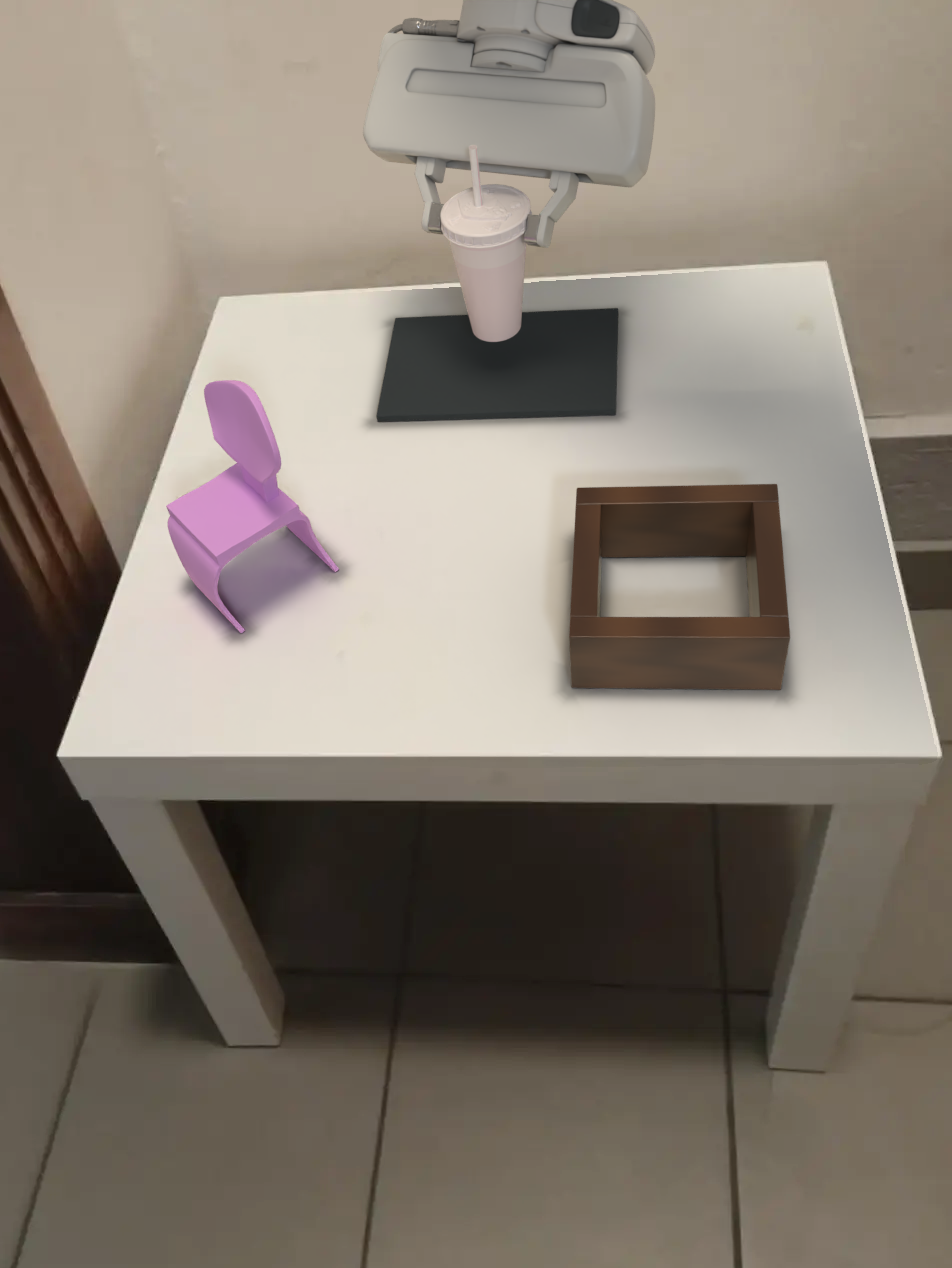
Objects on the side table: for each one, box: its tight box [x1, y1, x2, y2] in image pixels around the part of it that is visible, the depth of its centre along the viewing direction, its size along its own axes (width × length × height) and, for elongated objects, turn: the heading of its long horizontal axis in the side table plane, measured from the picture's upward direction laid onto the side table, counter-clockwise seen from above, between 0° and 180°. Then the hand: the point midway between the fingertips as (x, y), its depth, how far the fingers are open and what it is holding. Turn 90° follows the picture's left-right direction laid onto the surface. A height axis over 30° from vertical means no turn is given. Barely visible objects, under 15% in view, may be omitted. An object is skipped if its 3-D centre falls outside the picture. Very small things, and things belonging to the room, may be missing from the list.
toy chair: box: [166, 379, 340, 634], centre depth 79 cm, size 8×9×15 cm
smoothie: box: [440, 145, 533, 342], centre depth 86 cm, size 6×6×14 cm
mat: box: [375, 307, 619, 423], centre depth 95 cm, size 18×12×1 cm, turn 84°
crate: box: [568, 483, 791, 691], centre depth 77 cm, size 13×13×5 cm
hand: (484, 238), depth 85 cm, fingers closed on smoothie, 6 cm apart
